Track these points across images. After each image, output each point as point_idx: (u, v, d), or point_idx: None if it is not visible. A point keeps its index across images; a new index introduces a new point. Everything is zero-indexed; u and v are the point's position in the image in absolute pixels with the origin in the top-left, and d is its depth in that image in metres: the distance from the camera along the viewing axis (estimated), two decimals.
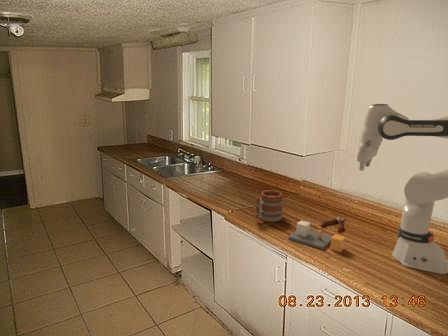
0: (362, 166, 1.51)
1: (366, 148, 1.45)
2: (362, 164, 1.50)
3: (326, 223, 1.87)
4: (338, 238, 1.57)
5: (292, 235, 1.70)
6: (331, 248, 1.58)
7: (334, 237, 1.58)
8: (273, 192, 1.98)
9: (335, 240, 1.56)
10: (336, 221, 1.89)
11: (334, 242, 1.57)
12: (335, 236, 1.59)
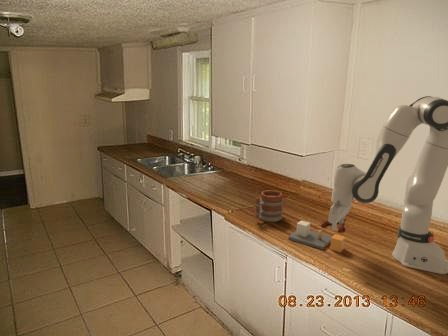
0: (334, 226, 1.52)
1: (336, 210, 1.46)
2: (334, 224, 1.51)
3: (326, 223, 1.87)
4: (338, 238, 1.57)
5: (292, 235, 1.70)
6: (331, 248, 1.58)
7: (334, 237, 1.58)
8: (273, 192, 1.98)
9: (335, 240, 1.56)
10: None
11: (334, 242, 1.57)
12: (335, 236, 1.59)
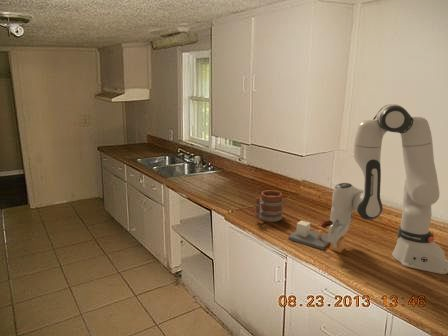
0: (335, 244, 1.55)
1: (335, 229, 1.49)
2: None
3: (327, 223, 1.87)
4: None
5: (292, 235, 1.70)
6: (331, 248, 1.58)
7: None
8: (273, 192, 1.98)
9: None
10: None
11: None
12: None
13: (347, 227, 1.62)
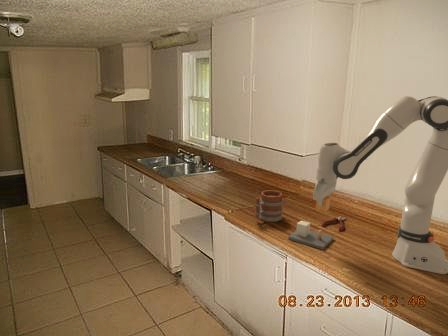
0: (320, 202, 1.57)
1: (320, 187, 1.51)
2: (320, 201, 1.57)
3: (327, 222, 1.88)
4: None
5: (292, 235, 1.70)
6: (316, 207, 1.61)
7: None
8: (273, 192, 1.98)
9: None
10: (337, 220, 1.90)
11: None
12: None
13: (333, 188, 1.64)
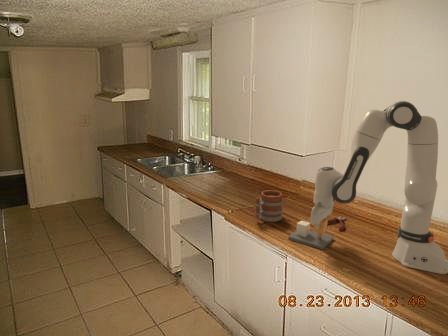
0: (318, 225, 1.61)
1: (317, 211, 1.54)
2: (317, 223, 1.60)
3: (327, 222, 1.88)
4: None
5: (292, 235, 1.70)
6: (314, 230, 1.64)
7: None
8: (273, 192, 1.98)
9: None
10: (337, 220, 1.91)
11: None
12: None
13: (330, 210, 1.67)
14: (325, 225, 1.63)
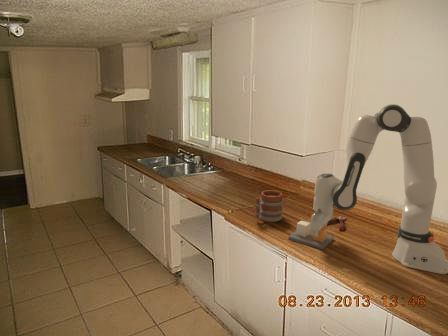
0: (316, 233, 1.60)
1: (316, 218, 1.55)
2: (316, 231, 1.60)
3: None
4: (320, 228, 1.64)
5: (292, 235, 1.70)
6: (314, 238, 1.65)
7: None
8: (273, 192, 1.98)
9: None
10: (337, 220, 1.91)
11: None
12: None
13: (330, 216, 1.68)
14: (325, 233, 1.64)
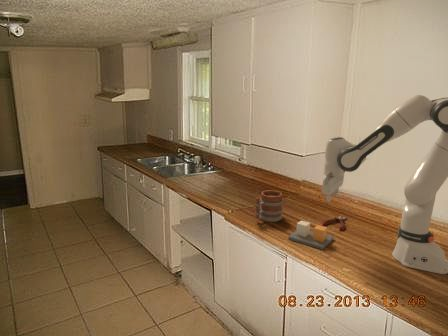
0: (328, 197, 1.58)
1: (328, 181, 1.53)
2: (328, 195, 1.58)
3: (328, 222, 1.88)
4: (320, 228, 1.64)
5: (292, 235, 1.70)
6: (314, 238, 1.65)
7: (317, 227, 1.65)
8: (273, 192, 1.98)
9: (317, 230, 1.63)
10: (337, 220, 1.91)
11: (316, 232, 1.64)
12: (318, 226, 1.66)
13: (341, 182, 1.66)
14: (325, 233, 1.64)
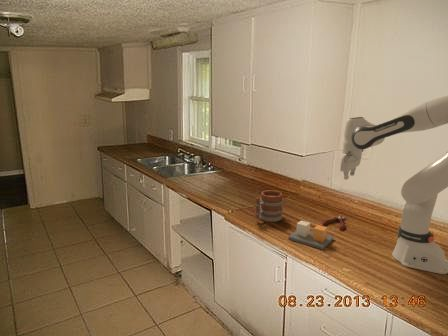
0: (346, 175, 1.62)
1: (347, 158, 1.57)
2: (346, 173, 1.62)
3: (328, 222, 1.89)
4: (320, 228, 1.64)
5: (292, 235, 1.70)
6: (314, 238, 1.65)
7: (317, 227, 1.65)
8: (273, 192, 1.98)
9: (317, 230, 1.63)
10: (337, 219, 1.92)
11: (316, 232, 1.64)
12: (318, 226, 1.66)
13: (358, 162, 1.70)
14: (325, 233, 1.64)
